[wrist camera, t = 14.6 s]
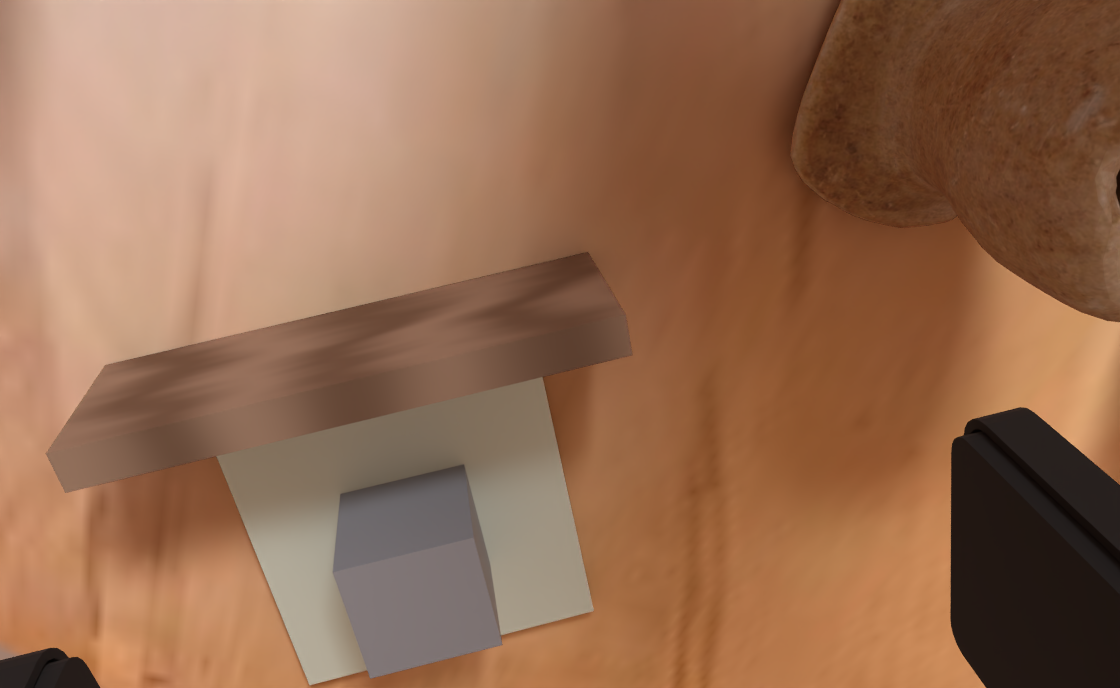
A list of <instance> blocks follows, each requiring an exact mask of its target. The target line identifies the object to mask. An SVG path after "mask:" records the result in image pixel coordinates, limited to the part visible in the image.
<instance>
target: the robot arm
mask: <svg viewBox="0 0 1120 688" xmlns="http://www.w3.org/2000/svg"><path fill="white" fill-rule="evenodd" d="M951 627H952V631H953V635H954V637H955V640H956V643H957V645H958V647H959V649H960V651H961V653H962V654H963V656H964V657H965V659H966V660H967V662H968V663H969V664H970V666H971V667H972V669H973V670H974V671H975V673H976V674H977V675H978V677H979V678H980V680H981V681H982V682H983V684H984V685H985V687H986V688H1120V485H1119V484H1118V483H1117V482H1116V481H1114V480H1113V479H1112V478H1111V477H1110V476H1108V475H1107V474H1106V473H1105V472H1104V471H1103V470H1101V469H1100V468H1099V467H1098V466H1097V465H1095V464H1094V463H1093V462H1092V461H1091V460H1090V459H1088V458H1087V457H1086V456H1085V455H1084V454H1083V453H1081V452H1080V451H1079V450H1078V449H1077V448H1075V447H1074V446H1073V445H1072V444H1071V443H1070V442H1068V441H1067V440H1066V439H1065V438H1064V437H1062V436H1061V435H1060V434H1059V433H1058V432H1057V431H1055V430H1054V429H1053V428H1052V427H1051V426H1050V425H1048V424H1047V423H1046V422H1045V421H1044V420H1042V419H1041V418H1040V417H1039V416H1038V415H1037V414H1035V413H1034V412H1032V411H1031V410H1029V409H1028V408H1021V407H1020V408H1016V409H1012V410H1008V411H1004V412H1000V413H996V414H992V415H988V416H984V417H980V418H976V419H972V420H971V421H969V422H968V423H967V425H966V427H965V431H964V436H960V437H957V438H955V439H954V441H953V443H952V452H951ZM0 688H100V686H99V685H98V683H97V681H96V680H95V678H94V676H93V675H92V673H91V671H90V670H89V668H88V666H87V665H86V664H85V662H84V661H83V660H82V659H80V658H78V657H72V658H68V656H67V655H66V654H65V653H64V652H63V651H61V650H60V649H58V648H48V649H44V650H40V651H36V652H32V653H28V654H24V655H20V656H16V657H12V658H8V659H4V660H0Z"/></svg>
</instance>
